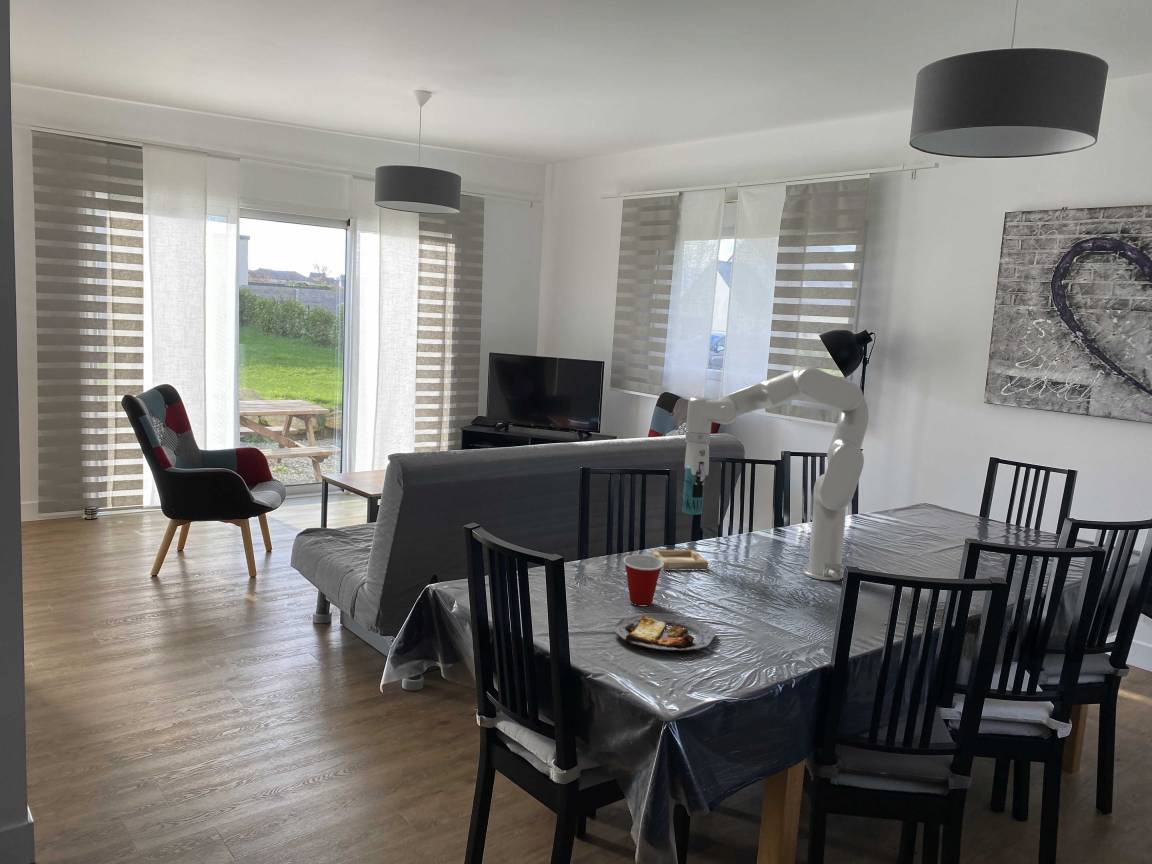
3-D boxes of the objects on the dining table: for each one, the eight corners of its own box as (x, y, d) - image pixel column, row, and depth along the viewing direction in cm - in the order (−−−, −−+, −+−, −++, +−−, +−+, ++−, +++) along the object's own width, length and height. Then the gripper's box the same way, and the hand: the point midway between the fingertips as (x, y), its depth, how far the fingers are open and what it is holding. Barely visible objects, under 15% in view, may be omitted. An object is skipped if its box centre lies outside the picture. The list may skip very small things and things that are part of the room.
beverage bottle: (688, 513, 281) (693, 451, 278) (706, 517, 277) (711, 454, 274) (677, 516, 276) (681, 452, 273) (695, 520, 272) (700, 456, 269)
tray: (707, 570, 273) (708, 562, 272) (663, 570, 270) (664, 562, 270) (692, 557, 286) (693, 549, 286) (651, 557, 284) (651, 550, 283)
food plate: (699, 664, 199) (700, 649, 198) (601, 647, 207) (602, 632, 207) (723, 632, 222) (724, 618, 221) (634, 617, 230) (635, 604, 230)
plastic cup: (628, 611, 232) (630, 566, 231) (615, 597, 243) (618, 555, 241) (667, 609, 235) (670, 565, 234) (653, 596, 246) (655, 553, 244)
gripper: (719, 442, 265) (714, 501, 268) (700, 433, 282) (696, 489, 285) (695, 441, 264) (690, 500, 266) (677, 433, 281) (673, 488, 283)
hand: (693, 494), depth 275 cm, fingers closed on beverage bottle, 6 cm apart
